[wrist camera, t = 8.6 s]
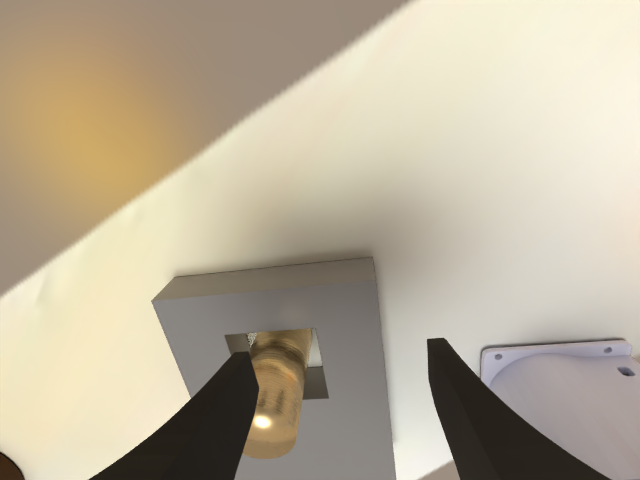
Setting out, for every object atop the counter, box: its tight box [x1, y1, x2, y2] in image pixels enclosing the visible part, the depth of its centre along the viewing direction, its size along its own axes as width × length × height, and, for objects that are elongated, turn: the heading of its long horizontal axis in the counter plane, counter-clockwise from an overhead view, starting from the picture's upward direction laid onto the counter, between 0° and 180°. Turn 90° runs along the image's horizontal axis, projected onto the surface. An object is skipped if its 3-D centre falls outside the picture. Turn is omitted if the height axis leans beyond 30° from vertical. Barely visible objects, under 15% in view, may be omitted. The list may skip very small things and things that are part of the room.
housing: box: [151, 257, 396, 480], centre depth 24 cm, size 14×18×3 cm
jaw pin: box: [242, 328, 312, 459], centre depth 21 cm, size 4×4×8 cm
